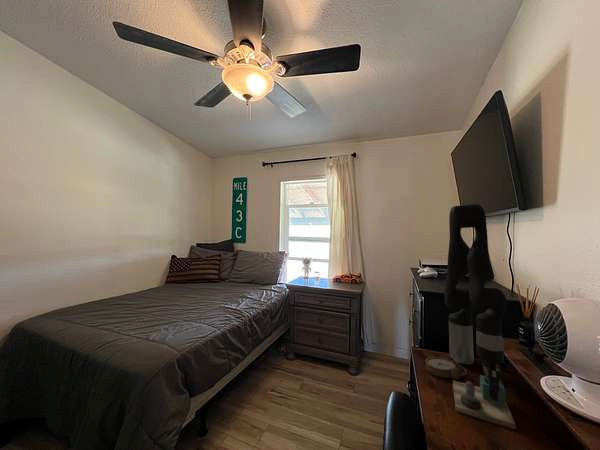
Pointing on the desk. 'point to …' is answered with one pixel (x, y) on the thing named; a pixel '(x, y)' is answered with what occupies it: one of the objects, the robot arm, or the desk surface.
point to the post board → (480, 405)
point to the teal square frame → (485, 390)
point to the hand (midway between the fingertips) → (491, 392)
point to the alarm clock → (444, 367)
